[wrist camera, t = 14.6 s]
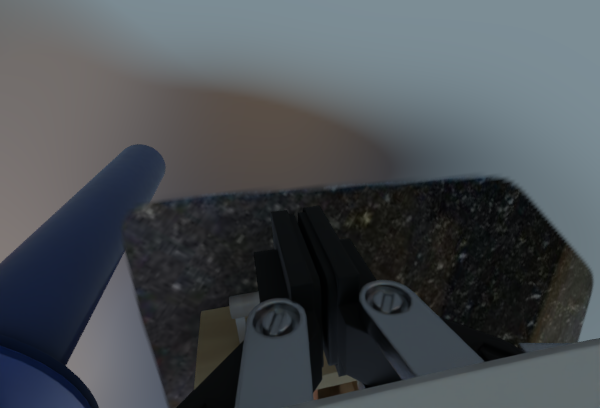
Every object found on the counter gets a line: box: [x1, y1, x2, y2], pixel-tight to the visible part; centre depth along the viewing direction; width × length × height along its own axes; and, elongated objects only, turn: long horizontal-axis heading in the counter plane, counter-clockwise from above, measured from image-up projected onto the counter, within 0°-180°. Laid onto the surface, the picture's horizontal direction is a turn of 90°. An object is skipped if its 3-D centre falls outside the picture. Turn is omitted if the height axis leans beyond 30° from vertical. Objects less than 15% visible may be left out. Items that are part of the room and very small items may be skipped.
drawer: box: [194, 291, 359, 399], centre depth 25 cm, size 18×11×8 cm, turn 3°
